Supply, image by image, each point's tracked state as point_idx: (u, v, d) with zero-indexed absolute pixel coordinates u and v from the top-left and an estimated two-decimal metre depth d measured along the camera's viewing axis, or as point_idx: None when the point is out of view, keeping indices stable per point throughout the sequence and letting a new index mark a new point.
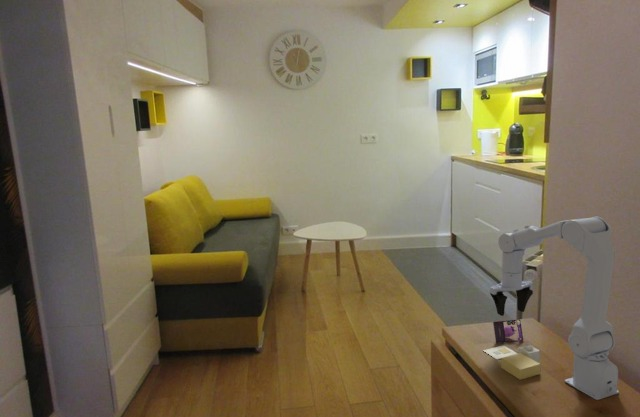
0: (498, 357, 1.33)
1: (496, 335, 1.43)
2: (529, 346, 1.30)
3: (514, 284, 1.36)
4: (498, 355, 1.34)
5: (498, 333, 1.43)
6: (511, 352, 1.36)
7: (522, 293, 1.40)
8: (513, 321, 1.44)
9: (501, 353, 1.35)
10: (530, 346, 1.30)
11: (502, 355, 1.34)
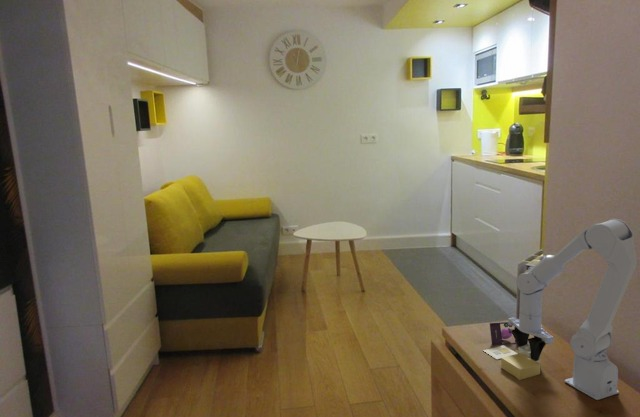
0: (498, 357, 1.33)
1: (492, 336, 1.42)
2: (529, 346, 1.30)
3: (519, 323, 1.29)
4: (498, 355, 1.34)
5: (494, 335, 1.42)
6: (511, 352, 1.36)
7: None
8: None
9: (501, 353, 1.35)
10: None
11: (502, 355, 1.34)
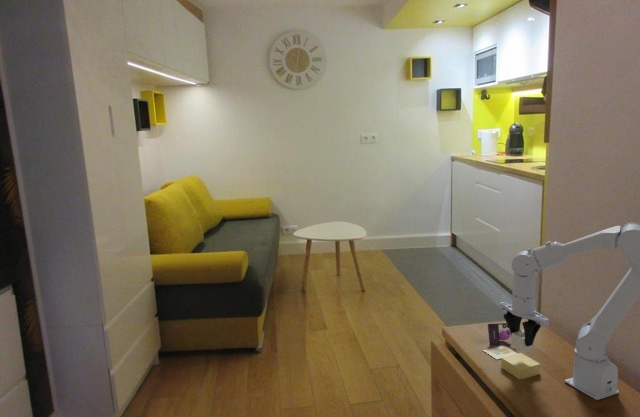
0: (498, 357, 1.33)
1: (490, 337, 1.42)
2: (523, 331, 1.24)
3: (512, 307, 1.23)
4: (498, 355, 1.34)
5: (492, 336, 1.41)
6: (511, 352, 1.36)
7: None
8: None
9: (501, 353, 1.35)
10: None
11: (502, 355, 1.34)
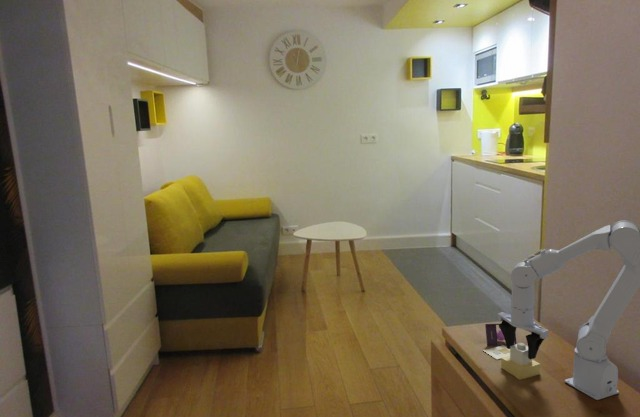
0: (498, 357, 1.33)
1: (488, 337, 1.42)
2: (521, 344, 1.24)
3: (512, 318, 1.23)
4: (498, 355, 1.34)
5: (490, 336, 1.41)
6: None
7: None
8: None
9: (501, 353, 1.35)
10: (522, 344, 1.24)
11: (502, 355, 1.34)
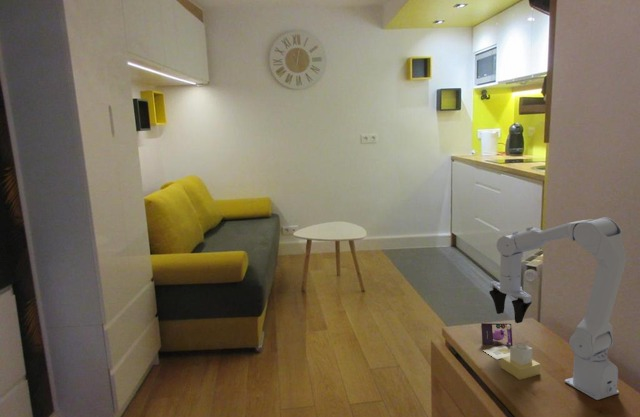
0: (498, 357, 1.33)
1: (483, 337, 1.42)
2: (521, 344, 1.24)
3: (500, 285, 1.35)
4: (498, 355, 1.34)
5: (485, 335, 1.42)
6: None
7: None
8: (503, 325, 1.41)
9: (501, 353, 1.35)
10: (522, 344, 1.24)
11: (502, 355, 1.34)
